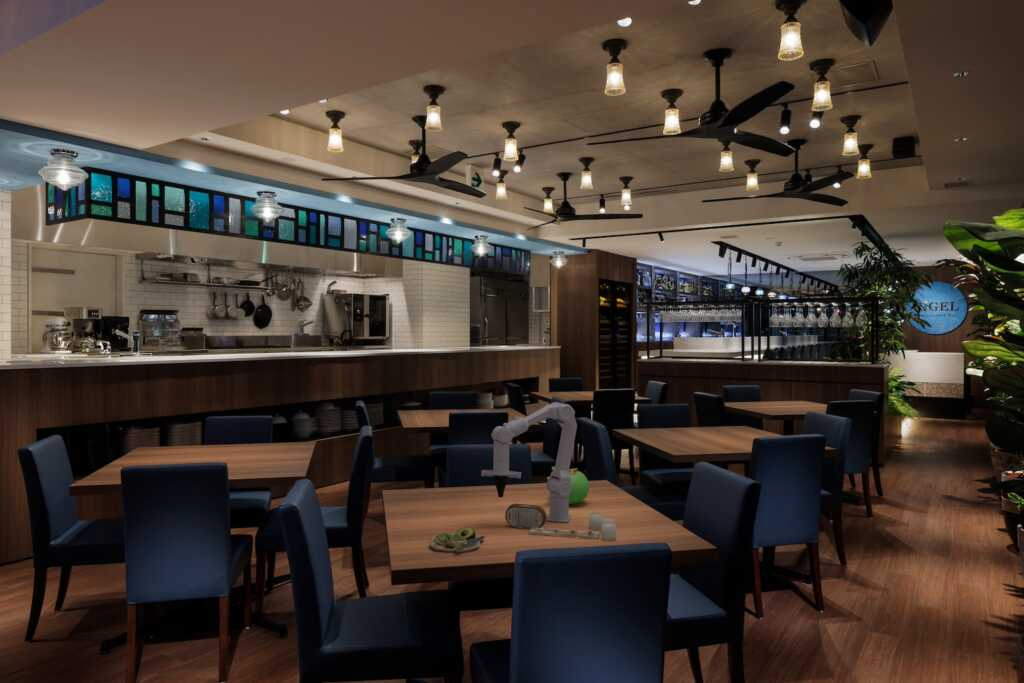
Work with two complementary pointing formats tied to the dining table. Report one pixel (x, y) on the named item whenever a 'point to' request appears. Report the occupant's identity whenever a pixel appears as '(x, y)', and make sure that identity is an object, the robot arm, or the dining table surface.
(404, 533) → the dining table surface
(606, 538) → the cylindrical block
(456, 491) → the dining table surface
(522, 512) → the tin
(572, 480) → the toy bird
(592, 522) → the cylindrical block
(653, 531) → the dining table surface
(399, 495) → the dining table surface
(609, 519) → the cylindrical block
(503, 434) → the robot arm
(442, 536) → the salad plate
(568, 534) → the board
